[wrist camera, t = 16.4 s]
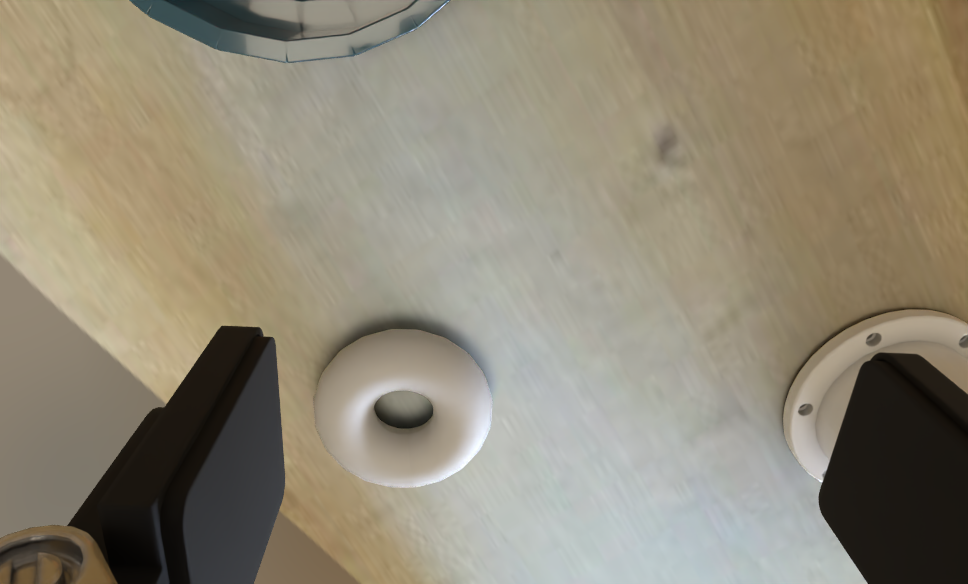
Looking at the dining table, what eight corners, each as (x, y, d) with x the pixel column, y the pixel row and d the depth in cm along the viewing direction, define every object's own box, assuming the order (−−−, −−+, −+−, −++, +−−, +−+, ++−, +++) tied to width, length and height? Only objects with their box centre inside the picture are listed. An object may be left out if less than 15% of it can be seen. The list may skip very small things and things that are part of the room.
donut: (445, 289, 38) (284, 359, 39) (447, 317, 35) (271, 393, 36) (516, 424, 42) (368, 485, 43) (523, 461, 39) (364, 525, 40)
